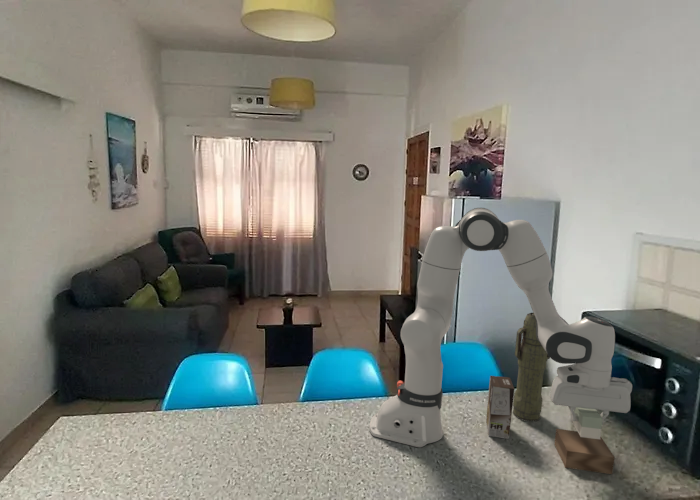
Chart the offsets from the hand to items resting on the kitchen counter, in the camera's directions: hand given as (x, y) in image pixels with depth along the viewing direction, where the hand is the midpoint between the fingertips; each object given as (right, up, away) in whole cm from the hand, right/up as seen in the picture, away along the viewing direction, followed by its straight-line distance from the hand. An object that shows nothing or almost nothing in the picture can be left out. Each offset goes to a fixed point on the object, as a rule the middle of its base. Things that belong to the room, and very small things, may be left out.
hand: (586, 422), depth 132 cm
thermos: (-7, -7, +26) cm, 28 cm away
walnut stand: (-1, -11, +2) cm, 11 cm away
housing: (0, -3, 0) cm, 3 cm away
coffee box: (-20, -8, +15) cm, 27 cm away
